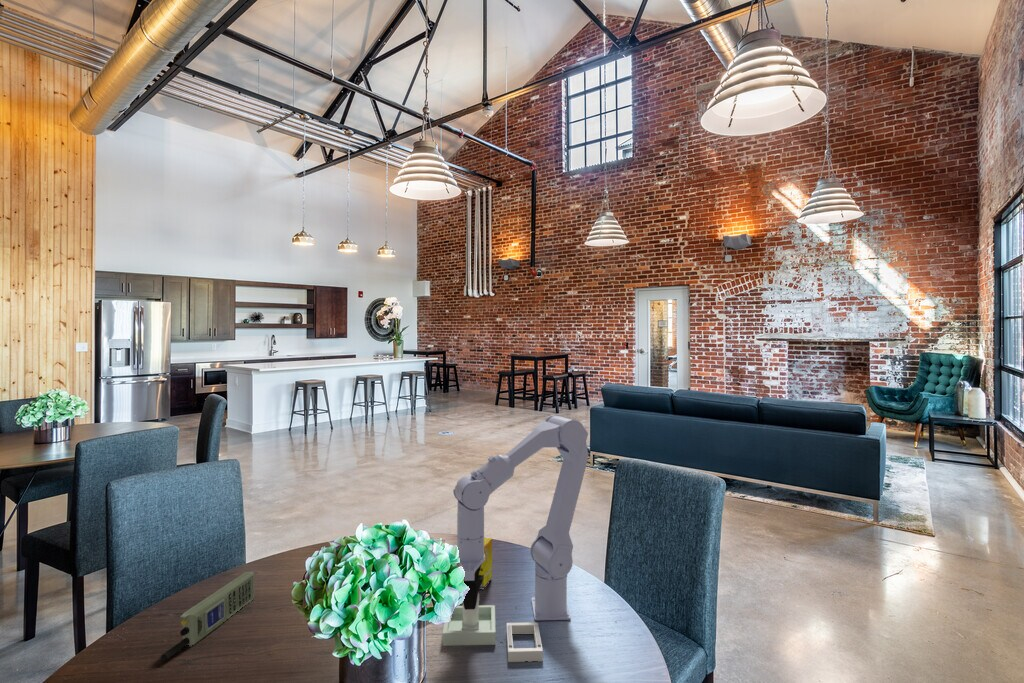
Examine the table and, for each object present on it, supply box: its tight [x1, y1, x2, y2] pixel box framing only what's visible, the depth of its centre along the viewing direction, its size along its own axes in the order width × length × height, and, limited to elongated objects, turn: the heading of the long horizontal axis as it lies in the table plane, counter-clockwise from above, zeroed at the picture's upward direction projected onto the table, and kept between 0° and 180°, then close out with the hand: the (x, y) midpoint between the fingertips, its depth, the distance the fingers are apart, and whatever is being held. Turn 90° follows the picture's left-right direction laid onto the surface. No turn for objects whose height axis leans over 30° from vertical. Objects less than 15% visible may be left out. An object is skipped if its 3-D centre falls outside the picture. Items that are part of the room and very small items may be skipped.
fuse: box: [462, 592, 480, 631], centre depth 107 cm, size 4×4×7 cm
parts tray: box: [442, 604, 496, 647], centre depth 107 cm, size 11×11×2 cm
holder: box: [506, 621, 544, 663], centre depth 102 cm, size 10×7×2 cm, turn 3°
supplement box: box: [479, 537, 493, 589], centre depth 129 cm, size 6×6×11 cm
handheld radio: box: [160, 571, 255, 662], centre depth 108 cm, size 7×3×25 cm
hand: (470, 599), depth 108 cm, fingers open, 7 cm apart
